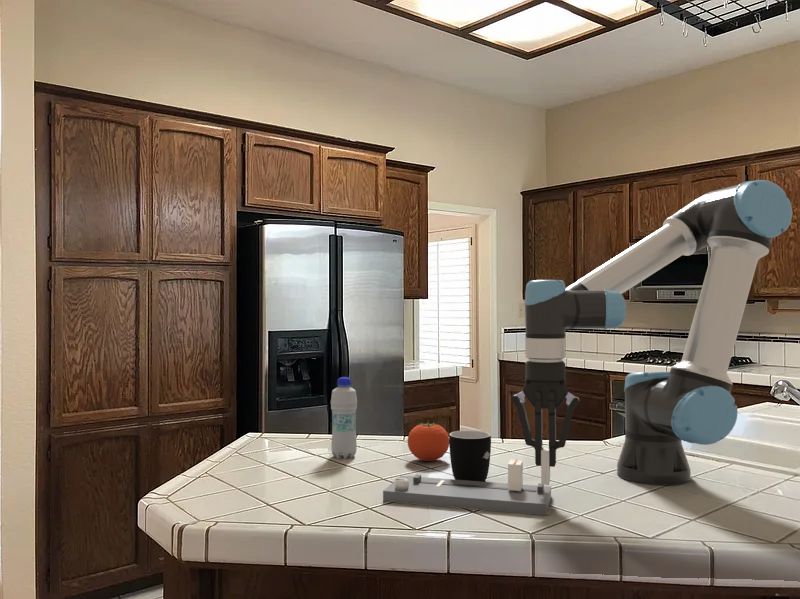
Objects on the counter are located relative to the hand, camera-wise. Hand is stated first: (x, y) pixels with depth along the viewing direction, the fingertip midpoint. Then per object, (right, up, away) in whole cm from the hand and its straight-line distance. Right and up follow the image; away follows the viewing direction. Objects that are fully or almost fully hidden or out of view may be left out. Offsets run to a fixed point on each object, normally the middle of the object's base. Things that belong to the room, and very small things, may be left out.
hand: (545, 482), depth 127 cm
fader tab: (-6, -1, +2) cm, 6 cm away
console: (-15, -4, +2) cm, 15 cm away
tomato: (-21, -4, +34) cm, 40 cm away
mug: (-13, -4, +17) cm, 21 cm away
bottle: (-42, -4, +39) cm, 57 cm away
